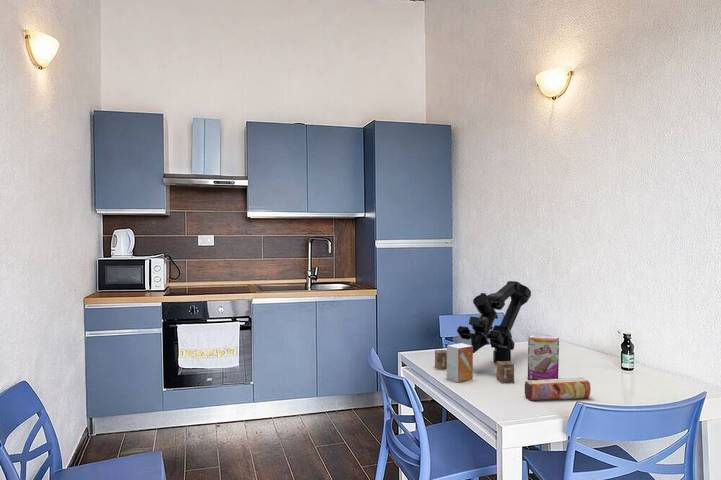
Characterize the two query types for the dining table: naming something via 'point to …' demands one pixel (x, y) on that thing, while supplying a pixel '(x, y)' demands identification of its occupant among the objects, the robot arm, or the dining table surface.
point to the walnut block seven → (505, 372)
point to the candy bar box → (543, 357)
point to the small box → (459, 362)
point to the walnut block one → (441, 359)
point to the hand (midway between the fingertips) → (472, 352)
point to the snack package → (557, 389)
